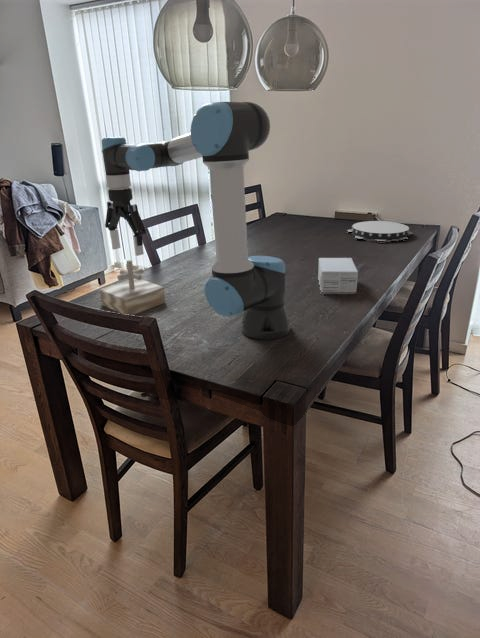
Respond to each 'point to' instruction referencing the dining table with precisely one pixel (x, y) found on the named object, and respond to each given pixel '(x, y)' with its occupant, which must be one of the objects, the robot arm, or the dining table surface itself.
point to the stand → (132, 296)
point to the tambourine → (380, 230)
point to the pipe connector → (130, 274)
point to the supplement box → (337, 275)
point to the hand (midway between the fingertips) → (127, 251)
